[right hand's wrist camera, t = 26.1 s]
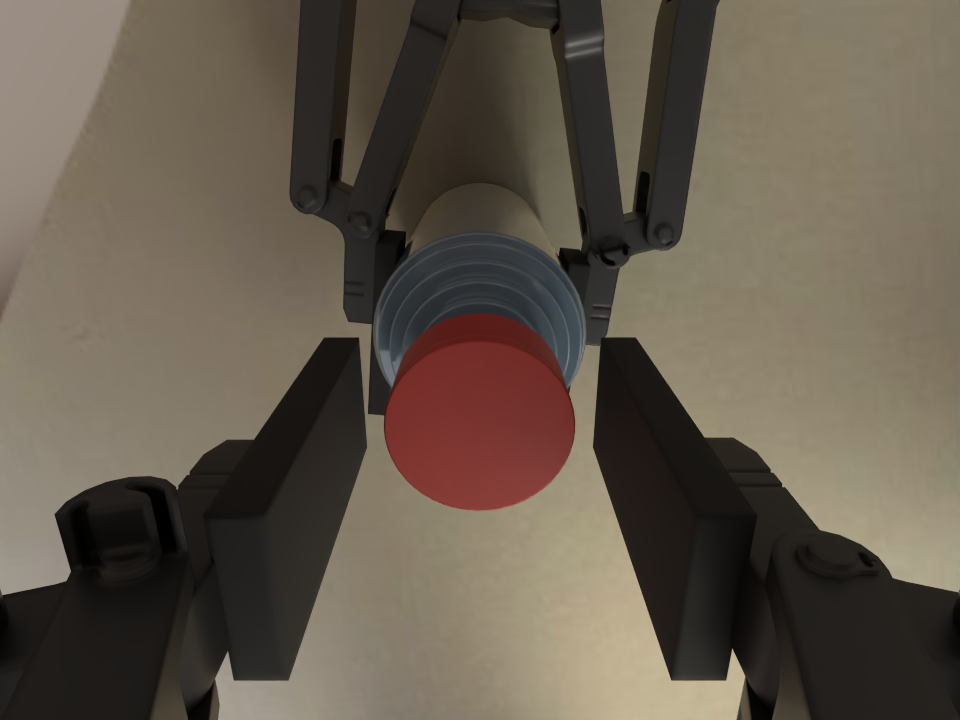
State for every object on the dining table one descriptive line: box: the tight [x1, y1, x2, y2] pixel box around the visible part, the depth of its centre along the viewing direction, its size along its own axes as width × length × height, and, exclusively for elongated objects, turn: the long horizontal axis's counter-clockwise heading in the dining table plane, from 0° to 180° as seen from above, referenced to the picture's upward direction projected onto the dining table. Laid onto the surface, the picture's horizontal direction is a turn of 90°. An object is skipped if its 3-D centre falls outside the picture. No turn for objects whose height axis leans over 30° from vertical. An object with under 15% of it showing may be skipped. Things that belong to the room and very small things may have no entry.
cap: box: [384, 313, 575, 511], centre depth 13 cm, size 4×4×2 cm
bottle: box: [373, 183, 586, 389], centre depth 21 cm, size 6×6×17 cm
